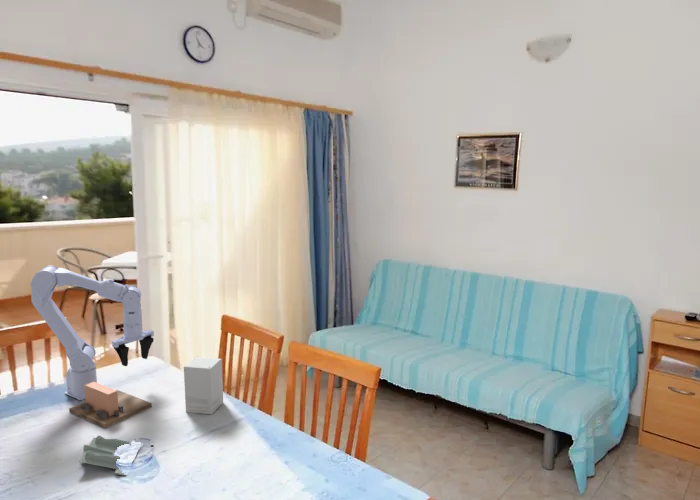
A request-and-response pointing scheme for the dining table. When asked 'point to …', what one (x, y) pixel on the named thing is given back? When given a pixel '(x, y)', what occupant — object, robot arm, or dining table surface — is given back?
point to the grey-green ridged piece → (102, 453)
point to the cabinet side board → (126, 407)
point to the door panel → (101, 397)
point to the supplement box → (203, 385)
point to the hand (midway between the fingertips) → (134, 361)
